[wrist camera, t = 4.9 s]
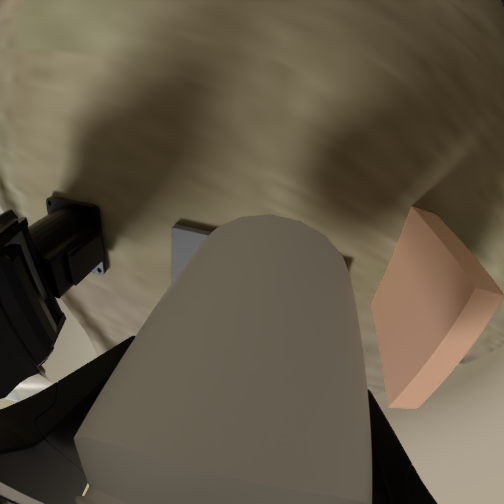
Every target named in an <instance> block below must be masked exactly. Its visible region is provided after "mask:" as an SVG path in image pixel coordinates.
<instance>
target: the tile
mask: <svg viewBox="0 0 504 504" xmlns="http://www.w3.org/2000/svg"><path fill="white" fill-rule="evenodd" d="M503 298H504V294H503V292H502V291H501V290H500V288H499V287H498V286H497V284H496V283H495V282H494V280H493V279H492V278H491V276H490V275H489V274H488V273H487V271H486V270H485V269H484V267H483V266H482V265H481V264H480V263H479V261H478V260H477V259H476V258H475V257H474V255H473V254H472V253H471V252H470V251H469V250H468V248H467V247H466V246H465V245H464V244H463V243H462V242H461V240H460V239H459V238H458V237H457V236H456V235H455V234H454V233H453V232H452V231H451V230H450V228H449V227H448V226H447V225H446V224H445V223H444V222H443V221H442V220H441V219H440V218H439V217H438V216H437V215H436V214H434V213H431V212H428V211H425V210H422V209H419V208H416V207H413V206H411V208H410V210H409V213H408V216H407V219H406V222H405V224H404V227H403V230H402V232H401V235H400V238H399V240H398V243H397V245H396V248H395V250H394V253H393V255H392V258H391V260H390V262H389V265H388V267H387V269H386V272H385V274H384V276H383V278H382V281H381V283H380V285H379V287H378V289H377V292H376V294H375V296H374V298H373V300H372V302H371V304H370V306H371V311H372V315H373V320H374V325H375V330H376V335H377V340H378V346H379V351H380V357H381V363H382V369H383V375H384V382H385V389H386V397H387V404H388V407H389V408H412V409H416V408H418V407H419V406H420V405H421V404H422V403H423V402H424V401H425V400H426V399H427V398H428V397H429V396H430V395H431V394H432V393H433V392H434V391H435V390H436V389H437V387H438V386H439V385H440V384H441V383H442V382H443V381H444V380H445V379H446V377H447V376H448V375H449V374H450V373H451V371H452V370H453V369H454V368H455V367H456V366H457V364H458V363H459V362H460V361H461V359H462V358H463V357H464V356H465V354H466V353H467V352H468V350H469V349H470V348H471V346H472V345H473V344H474V342H475V341H476V340H477V338H478V337H479V335H480V334H481V333H482V331H483V330H484V328H485V327H486V325H487V324H488V322H489V321H490V319H491V318H492V316H493V315H494V313H495V311H496V310H497V308H498V307H499V305H500V303H501V302H502V300H503Z"/></svg>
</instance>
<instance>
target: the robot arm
mask: <svg viewBox="0 0 504 504" xmlns="http://www.w3.org/2000/svg"><path fill="white" fill-rule="evenodd" d="M46 204H47V211H48V215H47V216H45V217H43V218H42V219H40V220H39V221H37V222H35V223H34V224H32V225H31V226H29V227H28V222H27V218H26V217H24V218H18V216H16V215H15V213H14V212H13V211H12V210H8V211H6V212H4V213H3V214H1V215H0V399H2V398H5V397H6V396H7V395H8V394H9V393H10V392H11V391H12V390H13V389H14V388H15V387H16V386H17V385H18V384H19V383H20V382H22V381H24V380H25V379H27V378H28V377H30V376H33V375H35V374H38V373H39V372H40V370H39V368H38V367H39V366H41V365H42V364H43V363H44V362H45V361H46V360H47V359H48V357H49V356H50V354H51V353H52V351H53V349H54V344H55V342H56V340H57V337H58V335H59V333H60V331H61V329H62V326H63V324H64V322H65V320H66V317H65V315H64V313H63V312H62V311H61V309H60V307H59V305H58V302H57V300H56V298H60V297H61V296H63V295H64V294H65V293H66V292H67V291H68V290H69V289H70V288H71V287H72V286H73V285H75V286H76V285H77V284H78V283H80V282H81V281H82V280H83V279H84V278H85V277H86V276H87V275H88V274H89V273H90V272H93V273H96V274H98V275H103V274H104V273H105V272H106V265H105V258H104V250H103V241H102V232H101V221H100V211H99V208H98V207H97V206H96V205H92V204H87V203H82V202H77V201H72V200H67V199H62V198H57V197H52V196H51V197H49V198H47V200H46ZM93 211H94V212H93ZM55 297H56V298H55ZM135 337H136V336H131V337H129V338H128V339H126V340H125V341H123V342H121V343H120V344H118V345H116V346H115V347H113V348H112V349H110V350H108V351H107V352H105V353H104V354H102V355H100V356H99V357H97V358H96V359H94V360H92V361H91V362H89V363H87V364H86V365H84V366H82V367H81V368H79V369H77V370H76V371H74V372H73V373H71V374H69V375H68V376H66V377H64V378H63V379H61V380H59V381H58V383H57V382H56V383H54V384H53V385H51V386H49V387H48V388H46V389H44V390H42V391H41V392H39V393H37V394H35V395H33V396H31V397H29V398H26V399H24V400H22V401H20V402H17V403H15V404H13V405H11V406H9V407H6V408H3V409H0V504H76V502H75V498H76V497H80V496H82V494H83V492H84V490H85V488H86V485H87V483H88V481H87V479H86V476H85V473H84V470H83V467H82V464H81V461H80V458H79V455H78V452H77V448H76V445H75V441H74V437H75V435H76V433H77V432H78V430H79V428H80V426H81V425H82V423H83V421H84V419H85V418H86V416H87V414H88V413H89V411H90V409H91V407H92V406H93V404H94V402H95V401H96V399H97V397H98V396H99V394H100V392H101V391H102V389H103V388H104V386H105V384H106V383H107V381H108V379H109V378H110V376H111V375H112V373H113V371H114V370H115V368H116V367H117V365H118V363H119V362H120V360H121V359H122V357H123V356H124V354H125V352H126V351H127V349H128V348H129V346H130V345H131V343H132V342H133V340H134V339H135ZM367 390H368V389H367ZM368 401H369V413H370V428H371V447H372V504H437V502H436V501H435V500H434V498H433V497H432V495H431V494H430V493H429V491H428V489H427V488H426V486H425V485H424V484H423V482H422V481H421V479H420V477H419V475H418V473H417V472H416V470H415V468H414V466H413V465H412V463H411V461H410V459H409V457H408V456H407V454H406V452H405V450H404V449H403V447H402V445H401V443H400V441H399V440H398V438H397V436H396V434H395V433H394V431H393V429H392V427H391V426H390V424H389V422H388V420H387V419H386V417H385V415H384V414H383V412H382V410H381V409H380V407H379V405H378V403H377V401H376V400H375V398H374V396H373V395H372V393H371V391H370V390H368Z"/></svg>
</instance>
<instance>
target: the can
mask: <svg viewBox="0 0 504 504" xmlns="http://www.w3.org/2000/svg"><path fill="white" fill-rule="evenodd" d="M74 441H75V445H76V448H77V452H78V455H79V458H80V461H81V464H82V467H83V470H84V473H85V476H86V479H87V481H88V484H89V488H88V490H87V492H86V494H85V496H80V497H76V498H75V502H76V504H372V447H371V428H370V413H369V401H368V390H367V381H366V372H365V363H364V356H363V348H362V341H361V334H360V328H359V321H358V315H357V309H356V304H355V298H354V293H353V287H352V282H351V278H350V275H349V272H348V269H347V266H346V264H345V261H344V258H343V256H342V255H341V253H340V252H339V251H338V250H337V249H336V248H335V246H334V245H333V244H332V243H331V242H330V241H329V239H328V238H327V237H326V236H325V235H323V234H321V233H320V232H318V231H316V230H315V229H313V228H311V227H309V226H308V225H306V224H304V223H303V222H301V221H297V220H293V219H289V218H284V217H280V216H275V215H259V216H247V217H240V218H238V219H236V220H233V221H231V222H229V223H226V224H224V225H222V226H219V227H217V228H216V229H215V230H214V231H213V232H212V233H211V234H210V235H209V236H208V237H207V238H206V239H205V240H203V241H202V242H201V243H200V245H199V246H198V247H197V249H196V250H195V251H194V253H193V254H192V256H191V257H190V258H189V260H188V261H187V263H186V264H185V265H184V267H183V268H182V270H181V271H180V272H179V274H178V275H177V277H176V278H175V280H174V281H173V282H172V284H171V285H170V287H169V288H168V290H167V291H166V292H165V294H164V295H163V297H162V298H161V300H160V301H159V303H158V304H157V306H156V307H155V309H154V310H153V311H152V313H151V314H150V316H149V317H148V319H147V320H146V322H145V323H144V325H143V326H142V328H141V329H140V331H139V332H138V334H137V336H136V337H135V339H134V340H133V342H132V343H131V345H130V346H129V348H128V349H127V351H126V352H125V354H124V356H123V357H122V359H121V360H120V362H119V363H118V365H117V367H116V368H115V370H114V371H113V373H112V375H111V376H110V378H109V379H108V381H107V383H106V384H105V386H104V388H103V389H102V391H101V392H100V394H99V396H98V397H97V399H96V401H95V402H94V404H93V406H92V407H91V409H90V411H89V413H88V414H87V416H86V418H85V419H84V421H83V423H82V425H81V426H80V428H79V430H78V432H77V433H76V435H75V437H74Z"/></svg>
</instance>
